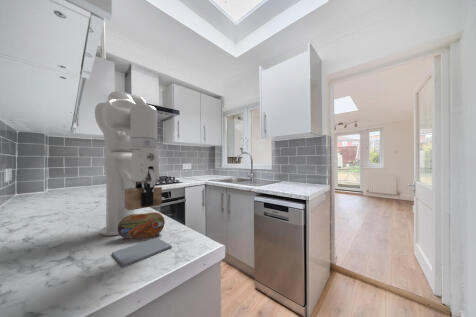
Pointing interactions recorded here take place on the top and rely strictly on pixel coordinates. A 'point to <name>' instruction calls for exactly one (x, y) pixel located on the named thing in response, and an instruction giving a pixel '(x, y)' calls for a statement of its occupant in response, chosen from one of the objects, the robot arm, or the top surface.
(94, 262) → the top surface
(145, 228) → the tin
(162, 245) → the mat
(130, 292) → the top surface
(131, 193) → the card box
